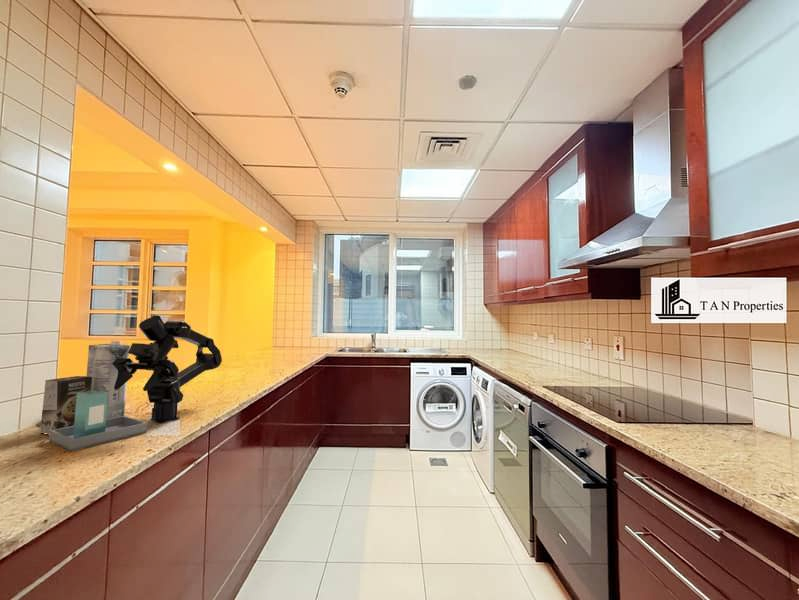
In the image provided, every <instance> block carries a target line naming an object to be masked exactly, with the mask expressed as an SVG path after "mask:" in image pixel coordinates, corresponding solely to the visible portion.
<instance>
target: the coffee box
mask: <svg viewBox="0 0 799 600" xmlns="http://www.w3.org/2000/svg"><path fill="white" fill-rule="evenodd" d="M44 382H45V383H44V391H43V392H44V394H43V402H42V411H41V421H40V428H39V429H40V430H39V433H40V432H41V433H47V434H50V430H55V429H60V428H65V427H70V426H74V422H75V410H76V397H77V393H82V392H89V391H91V385H92V377H88V376H87V375H86V376H83V375H82V376H81V375H77V376H76V375H74V376H69V377H68V376H67V377H60V378H53V379H45V381H44Z"/></svg>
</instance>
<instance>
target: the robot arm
mask: <svg viewBox="0 0 799 600" xmlns="http://www.w3.org/2000/svg"><path fill="white" fill-rule="evenodd" d="M138 328H139V329H140V330H141V332H142V333H143V334H144V336H145V337H146V338H147V340H149V341H152V342H150V343H138V342H137V343H136V342H132V343H131V345H130V349H129V352H128V353H129V355H132V356H134V357H135V358H134V359H135V360H136V361H138V362H134V361H133V360H132V359H131V358H130V357H129V358H117V359H116V360H115V361H114V362H113V365H114V367H115V368H116V369H117V370H118V375H117V379H116V382H115V386H114V389H115V390H118V389H119V388H120V387H121V386H123V385H124V384H125V383H126V382H127V383H128V382H129V380H131V379H132V378H133V377H134V374H136V372H137V371H138V370H141V371H142V370H145V371H153V372H152V374H151V376H150V377H149V378H148V380H147V381H146V383H145V384H144V386H143V387H142V390H143V391H144V392H146V393H147V398H148V401H149V403H151V404H153V407H152V408H151V416H150V417H151V418H150V420H149V421H150V422H154V423H156V424H162V423H168V422H171V421H175V420H179V419H180V417H179V416H178V404H179V403H181V402H182V401H183V398H184V394H183V392H182V391H181V388H182V387H183V386H185V385H186V384H188V382H191V381H192V380H193V379H195V378H196V377H198V376H199V375H201V374H202V373H204V372H205V371H210V370H215V369H217V368H219V367H220V366H221V364H222V363H223V359H222V358H223V357H222V354H221V350H220V349H219V348H218V347H217V345H215V341H214V339H213V338H211V337H208V336H206V335H204V334H201V333H199V332H197V331H195V330H193V329H192V326H190V324H188V323H187V322H186V321H182V320H181V321H176V320H175V321H174V320H173V321H172V320H168V321H165V322H164V321H163V320H162V318H161V316H160V315H158V314H157V315H154V314H153V315H152V316H151V317H148V318H146V319H144V320H142V321H141V322H140V323H139V324H138ZM176 339H181V340H183V341H185V342H187V343H191V344H192V345H195V346H197V350H196V353H195V356H196V359H195V362H193V363H192V364H190V365H189V366H187V367H186V368H184V369H182V370H180V369H179V367H178V365H177V364H176V363H175V362H174V360H173V359H169V357H168V355H169V354H170V351H171V350H172V349H179V348H180V346H179V343H178V340H176ZM205 348H206V349H208V351H209V352H210V353H205V352H204V351H203V350H204V349H205ZM179 370H180V371H179Z"/></svg>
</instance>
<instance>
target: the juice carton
mask: <svg viewBox="0 0 799 600" xmlns="http://www.w3.org/2000/svg"><path fill="white" fill-rule="evenodd" d="M130 347H131V345H130V344H122V341H121V340H111V341H110V343H102V344H99V343H98V344H89V345H88V349H87V350H88V352H87V365H86V376H88V377H92V385H91V391H95V390H100V391H106V392H108V398H107V411H106V419H110V418H115V417H120V416H125V412H126V411H125V410H126V399H127V387H128V386H127V385H128V384H127V383H128V381H127V382H126V383H125V384H124V385H123V386H121V387H120V388H119V389H118V390H115V389H114V386H115V382H116V379H117V375H118V370H117V369H116V368H115V367H114V365H113V362H114V361H115V360H116V359H117V358H130V354H129V353H128V352H129V349H130Z"/></svg>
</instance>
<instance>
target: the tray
mask: <svg viewBox="0 0 799 600" xmlns="http://www.w3.org/2000/svg"><path fill="white" fill-rule="evenodd" d="M147 430H148V422H147V421H146V422H145V421H143V420H139V419H137V418H134V417H130V416H127V415H124V416H120V417H115V418H110V419H106V424H105V432H102V433H98V434H93V435H89V436H84V437H80V438H75V439H73V435H74V426H70V427H65V428H60V429H55V430H50V435H48V436H49V437H48V438H49V439H48V441H49V440H50V441H51V442H53V443H55V444H54V445H56V444H57V445H56V446H58V447H60V448H62V449H63V450H66V451H68V452H70V453H71V452H75V451H79V450H82V448H83V449H87V448H91V447H94V446H95V447H96V446H98V445H103V444H107V443H110V442H115V441H119V440H122V439H123V440H124V439H127V438H130V437H135V436H139V435H143V434H147V432H148V431H147ZM51 442H50V443H51ZM53 443H52V444H53ZM86 447H87V448H86ZM78 449H79V450H78ZM74 450H75V451H74Z"/></svg>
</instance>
